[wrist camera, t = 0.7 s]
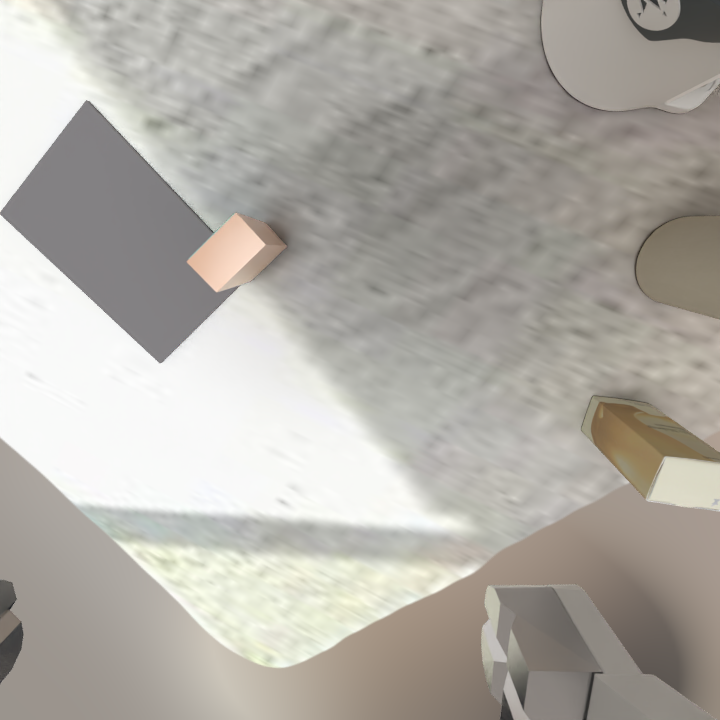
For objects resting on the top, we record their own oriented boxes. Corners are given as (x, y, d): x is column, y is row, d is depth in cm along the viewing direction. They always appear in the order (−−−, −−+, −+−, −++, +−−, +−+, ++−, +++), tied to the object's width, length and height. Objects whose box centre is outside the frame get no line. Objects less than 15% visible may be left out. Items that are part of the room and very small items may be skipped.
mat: (89, 101, 37) (86, 100, 37) (252, 273, 41) (250, 273, 41) (2, 213, 40) (-1, 213, 40) (161, 362, 44) (160, 363, 44)
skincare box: (649, 402, 44) (748, 466, 32) (635, 438, 45) (726, 513, 33) (588, 394, 44) (665, 455, 32) (576, 431, 45) (646, 503, 33)
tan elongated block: (265, 221, 40) (234, 211, 29) (287, 246, 40) (265, 244, 30) (228, 258, 40) (185, 260, 30) (250, 281, 41) (216, 292, 30)
